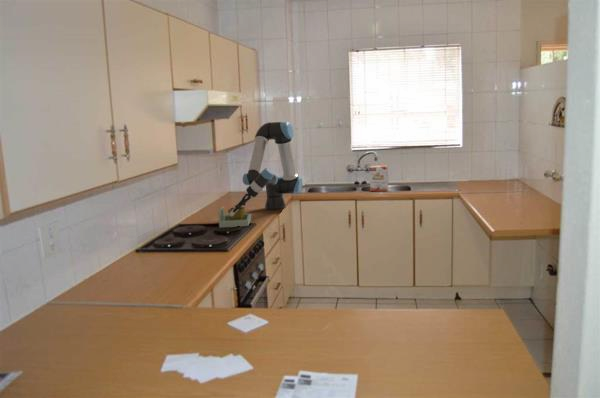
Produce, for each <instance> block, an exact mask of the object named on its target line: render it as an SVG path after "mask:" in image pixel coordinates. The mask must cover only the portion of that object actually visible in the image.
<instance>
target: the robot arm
mask: <svg viewBox="0 0 600 398" xmlns="http://www.w3.org/2000/svg"><path fill="white" fill-rule="evenodd" d="M293 128H294V127H293V125H292V124H291V123H290V122H289V121H275V122H271V121H270V122H266V123H264V124H263V125H261V126H260V127H259V128H258V130H257V131H256V133H255V136H254V141H255V142H254V146H253V150H252V154H251V159H250V163H249V167H248V171H247V173H244V174H243V176H242V182H243V183H242V184H244V185H246V186H247V188H246V192H247V193H245V194H244V196H243V197H242V198H241V200H240V201H239V202H238V203H237V204H236V205H234V207H235V208H234V209H233V210H232V211H231V212H230V213H228V215H230V216H231V217H232V216H233V215H234V214H235V213H236V212H237V211H238V210H239V208H240V207H245V206H246V203H247V202H248V201H249V200H250V199H252V198H256V197H257V196H258V195H259V193H260V192H262V191H263V189H264V188H265V192H266V200H265V203H264V208H265V210H268V211H269V210H270V211H276V210H283V209H286V207H287V205H286V203H285V200H284V197H283V195H286V194H287V195H295V194H296V195H297V194H300V193H301V191H302V188H303V179H302V177H300V176H299V174H298V173H297V172H296V168H295V164H294V157H293V151H292V146H291V142H292V139H293V137H294V129H293ZM269 140H271V141H272V140H274V144H276V145H277V148H278V153H279V158H280V163H281V164H280V165H281V169H282V174H283V175H276V174H275V173H274V172H273V171H272V170H271V169H269V168H264V169H263V170H262V171H261V168H262V162H263V159H264V155H265V151H266V146H267V144H269Z"/></svg>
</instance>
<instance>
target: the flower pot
mask: <svg viewBox="0 0 600 398" xmlns="http://www.w3.org/2000/svg"><path fill="white" fill-rule="evenodd" d="M234 208H235V206H234V207H231V208H229V209H228V210H227V213H228V215H229V213H230V212H231V211H232V210H233V209H234ZM244 214H245V206H243V207H240V208H239V210H238V211H237V212H236V213H235V214H234V215H233V216H232V217H231V216H230V215H229V217H230V220H243V218H244Z"/></svg>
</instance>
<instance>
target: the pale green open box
mask: <svg viewBox="0 0 600 398" xmlns="http://www.w3.org/2000/svg"><path fill="white" fill-rule="evenodd" d="M217 212H218V213H217V214H218V220H219V221H218V227H219V229H221V228H234V227H235V228H237V226H240V227H249V225H250V223H251V222H252V214H251V213H244V218H243V220H230V217H229V214H226V210H225V206H222V207H221V208H220V209H219V210H218V211H217Z"/></svg>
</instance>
